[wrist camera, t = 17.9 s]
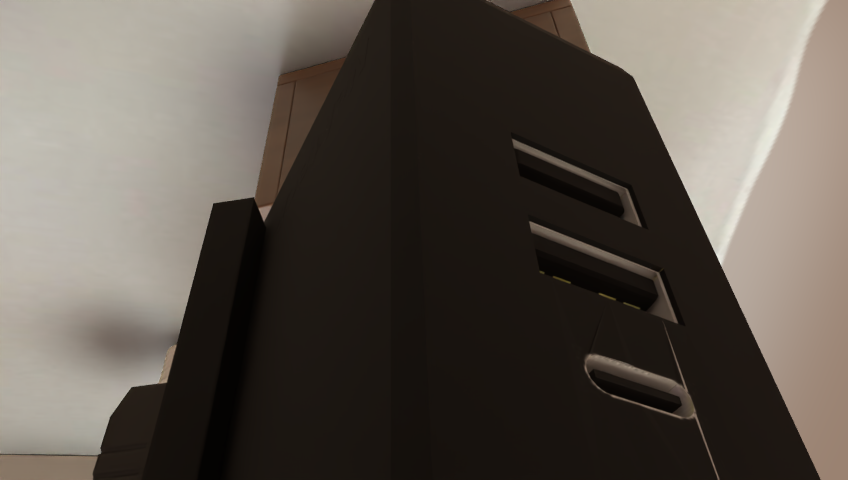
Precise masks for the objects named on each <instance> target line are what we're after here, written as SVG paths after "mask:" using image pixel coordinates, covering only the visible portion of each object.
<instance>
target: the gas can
mask: <svg viewBox="0 0 848 480" xmlns="http://www.w3.org/2000/svg"><path fill="white" fill-rule="evenodd" d="M97 458H98V456H45V455H0V480H93V475H92V473H93V470H94V467H95V464H96V461H97Z"/></svg>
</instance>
